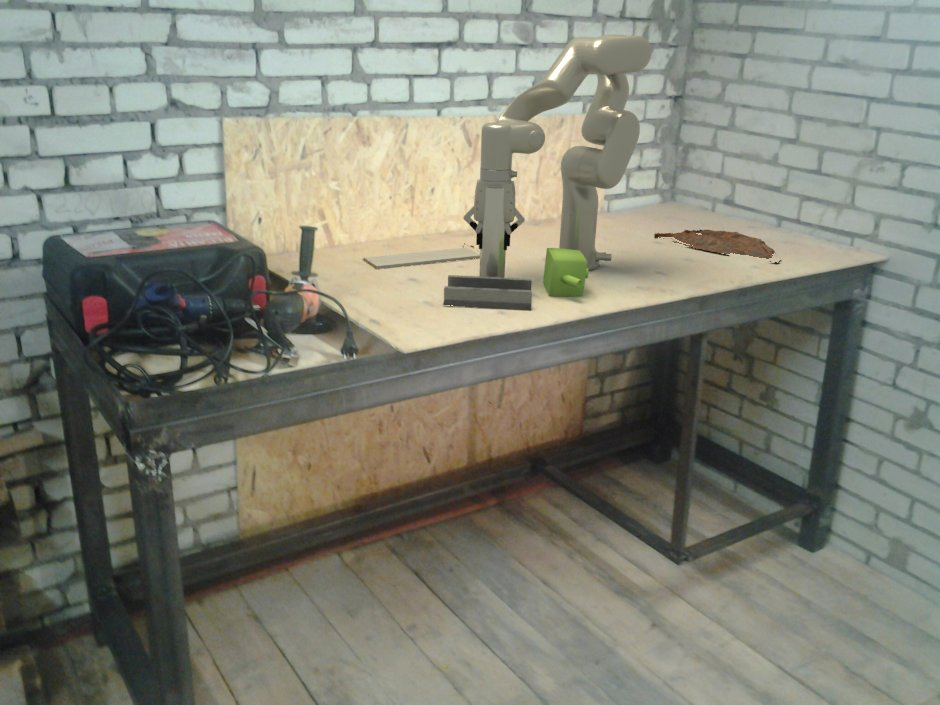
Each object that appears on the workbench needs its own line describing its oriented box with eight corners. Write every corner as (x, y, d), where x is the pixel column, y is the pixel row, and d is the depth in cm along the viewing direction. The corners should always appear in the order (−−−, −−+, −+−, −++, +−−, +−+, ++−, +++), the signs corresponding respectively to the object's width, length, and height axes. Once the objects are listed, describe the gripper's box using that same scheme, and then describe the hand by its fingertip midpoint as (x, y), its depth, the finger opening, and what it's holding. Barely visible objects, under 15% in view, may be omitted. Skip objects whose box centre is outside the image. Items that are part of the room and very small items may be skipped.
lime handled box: (593, 304, 206) (598, 266, 203) (551, 302, 205) (556, 263, 202) (579, 281, 223) (584, 245, 219) (541, 279, 222) (545, 243, 218)
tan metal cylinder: (488, 275, 225) (491, 178, 216) (509, 280, 221) (514, 181, 212) (474, 281, 220) (476, 181, 211) (495, 285, 216) (499, 185, 207)
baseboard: (360, 260, 238) (376, 271, 228) (360, 250, 237) (376, 261, 227) (461, 250, 251) (481, 260, 241) (462, 240, 250) (481, 250, 240)
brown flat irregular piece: (651, 246, 271) (652, 230, 269) (714, 237, 286) (715, 221, 284) (754, 269, 239) (756, 251, 238) (819, 258, 254) (821, 241, 252)
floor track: (530, 293, 211) (531, 277, 210) (530, 310, 199) (531, 293, 198) (448, 289, 212) (449, 273, 211) (443, 306, 200) (443, 289, 199)
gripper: (531, 174, 214) (527, 246, 221) (461, 171, 215) (459, 243, 222) (531, 179, 207) (527, 253, 214) (459, 176, 208) (457, 250, 215)
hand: (493, 247), depth 218 cm, fingers closed on tan metal cylinder, 5 cm apart
